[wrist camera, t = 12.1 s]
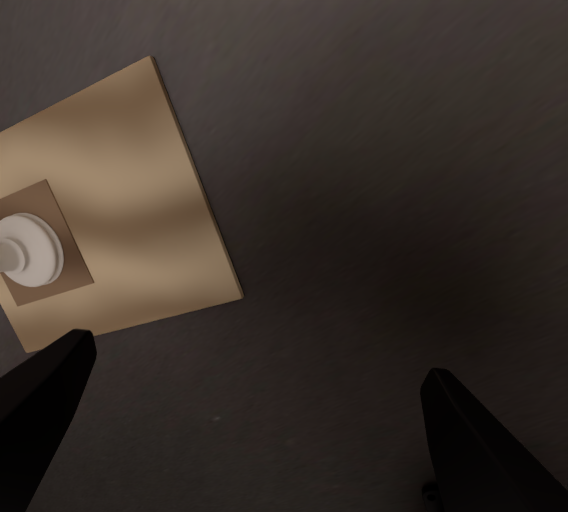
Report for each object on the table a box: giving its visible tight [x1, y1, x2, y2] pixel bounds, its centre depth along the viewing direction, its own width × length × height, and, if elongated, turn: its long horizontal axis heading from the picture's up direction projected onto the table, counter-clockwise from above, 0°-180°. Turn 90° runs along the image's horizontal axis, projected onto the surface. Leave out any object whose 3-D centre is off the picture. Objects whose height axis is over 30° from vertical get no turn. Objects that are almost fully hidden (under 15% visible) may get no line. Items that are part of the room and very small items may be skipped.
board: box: [0, 55, 244, 353], centre depth 23 cm, size 14×18×1 cm
